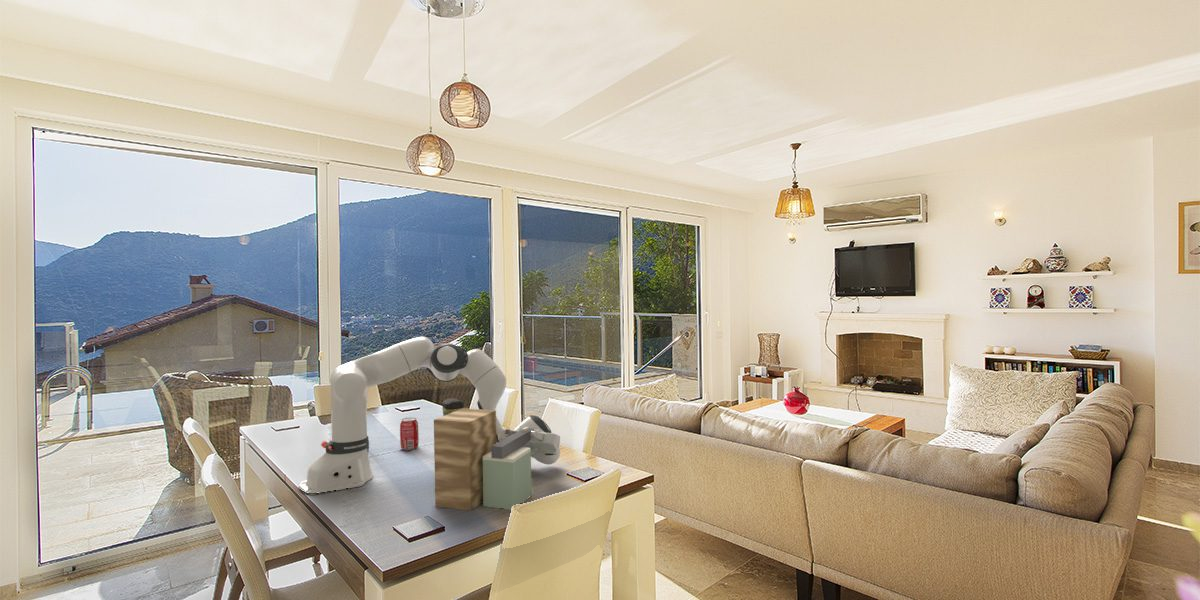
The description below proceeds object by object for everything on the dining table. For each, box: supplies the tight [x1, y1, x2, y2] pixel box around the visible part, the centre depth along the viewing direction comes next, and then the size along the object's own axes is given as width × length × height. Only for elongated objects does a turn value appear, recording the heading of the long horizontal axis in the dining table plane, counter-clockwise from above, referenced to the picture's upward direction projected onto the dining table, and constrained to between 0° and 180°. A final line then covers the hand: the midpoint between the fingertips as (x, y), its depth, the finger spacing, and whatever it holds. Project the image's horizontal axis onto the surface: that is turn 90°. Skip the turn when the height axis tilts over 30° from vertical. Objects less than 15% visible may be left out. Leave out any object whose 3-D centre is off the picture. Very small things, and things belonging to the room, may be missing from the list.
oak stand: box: [433, 407, 497, 511], centre depth 172 cm, size 16×12×26 cm
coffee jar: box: [442, 397, 465, 416], centre depth 234 cm, size 10×8×19 cm
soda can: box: [399, 417, 420, 451], centre depth 227 cm, size 7×7×12 cm
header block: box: [482, 447, 532, 511], centre depth 170 cm, size 12×10×15 cm
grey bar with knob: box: [491, 427, 534, 459], centre depth 174 cm, size 22×4×4 cm, turn 162°
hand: (519, 432), depth 177 cm, fingers open, 8 cm apart
